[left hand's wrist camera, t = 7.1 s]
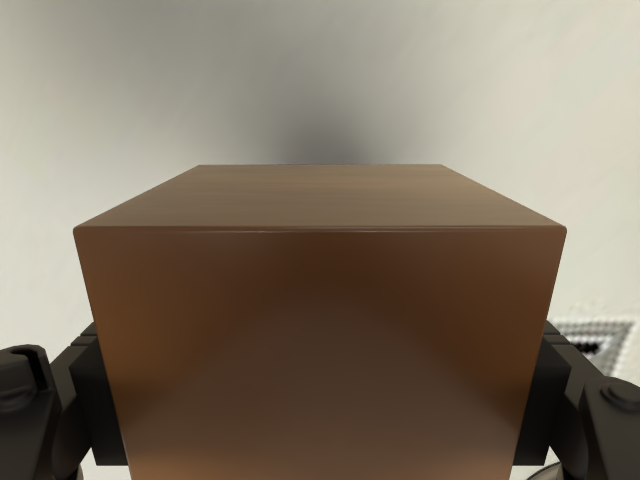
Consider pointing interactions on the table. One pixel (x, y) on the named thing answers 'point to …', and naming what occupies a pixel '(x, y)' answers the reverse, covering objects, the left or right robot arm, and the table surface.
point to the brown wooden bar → (320, 322)
